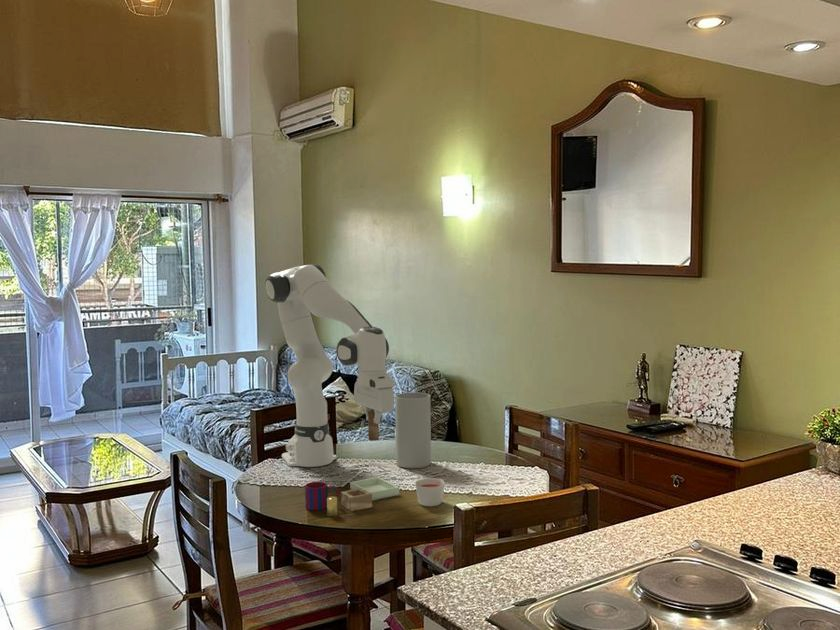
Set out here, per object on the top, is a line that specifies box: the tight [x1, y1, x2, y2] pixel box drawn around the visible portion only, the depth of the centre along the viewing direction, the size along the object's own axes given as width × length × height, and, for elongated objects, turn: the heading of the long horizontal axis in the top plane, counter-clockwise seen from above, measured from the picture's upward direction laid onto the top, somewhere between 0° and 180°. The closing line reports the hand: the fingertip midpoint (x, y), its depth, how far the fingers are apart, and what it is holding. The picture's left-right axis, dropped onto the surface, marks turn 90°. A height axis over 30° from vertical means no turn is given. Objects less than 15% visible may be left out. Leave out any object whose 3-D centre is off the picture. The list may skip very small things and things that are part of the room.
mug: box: [304, 481, 339, 511], centre depth 231 cm, size 7×10×7 cm
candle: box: [414, 477, 446, 507], centre depth 234 cm, size 9×9×6 cm
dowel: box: [367, 409, 380, 442], centre depth 243 cm, size 3×3×9 cm
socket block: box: [340, 488, 373, 512], centre depth 232 cm, size 7×7×4 cm
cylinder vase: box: [394, 391, 432, 470], centre depth 276 cm, size 12×12×25 cm
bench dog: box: [326, 496, 338, 517], centre depth 225 cm, size 3×3×5 cm
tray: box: [349, 476, 400, 501], centre depth 245 cm, size 13×10×2 cm
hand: (373, 421), depth 243 cm, fingers closed on dowel, 3 cm apart
